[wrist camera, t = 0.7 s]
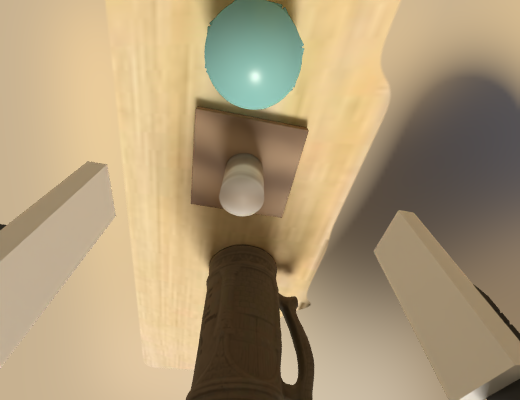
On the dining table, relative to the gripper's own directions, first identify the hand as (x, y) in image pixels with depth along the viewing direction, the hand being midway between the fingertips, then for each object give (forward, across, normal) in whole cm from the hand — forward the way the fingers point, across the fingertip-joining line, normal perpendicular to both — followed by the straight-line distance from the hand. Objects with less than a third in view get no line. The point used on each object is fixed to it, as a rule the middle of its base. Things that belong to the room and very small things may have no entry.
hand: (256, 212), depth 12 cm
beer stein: (+18, +4, -25) cm, 31 cm away
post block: (+18, 0, -7) cm, 20 cm away
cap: (+18, -1, +5) cm, 19 cm away
